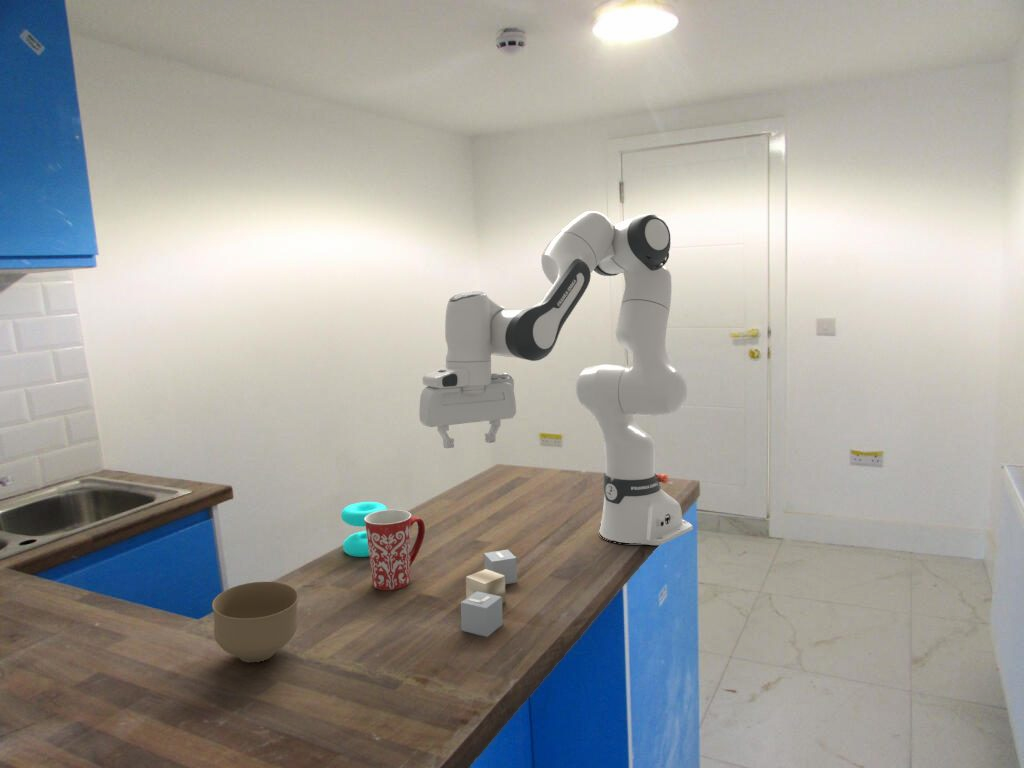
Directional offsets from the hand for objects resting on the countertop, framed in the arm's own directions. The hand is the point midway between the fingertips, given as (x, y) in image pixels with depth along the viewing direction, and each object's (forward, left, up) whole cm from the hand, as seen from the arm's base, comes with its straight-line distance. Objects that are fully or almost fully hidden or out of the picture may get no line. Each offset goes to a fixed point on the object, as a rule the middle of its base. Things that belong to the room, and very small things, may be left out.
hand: (469, 444), depth 143 cm
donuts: (+12, -25, -26) cm, 38 cm away
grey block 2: (-2, +7, -26) cm, 27 cm away
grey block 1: (+12, +22, -26) cm, 36 cm away
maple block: (+6, +14, -26) cm, 30 cm away
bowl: (+45, +9, -26) cm, 53 cm away
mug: (+14, -5, -26) cm, 30 cm away
